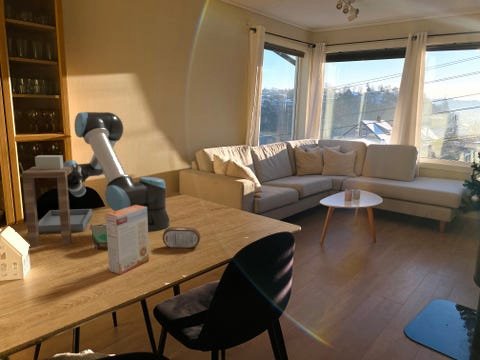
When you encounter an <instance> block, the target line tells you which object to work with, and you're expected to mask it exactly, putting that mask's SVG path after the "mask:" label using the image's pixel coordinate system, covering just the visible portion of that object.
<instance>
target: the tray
mask: <svg viewBox="0 0 480 360" xmlns="http://www.w3.org/2000/svg"><path fill="white" fill-rule="evenodd" d="M69 210H70V224H71V233H75V232H76V233H77V232H79V233H80V232H85V229H86V227H88V224H89V222H90V221H91V218H92V217H93V209H92V208H86V209H85V208H81V209H80V208H79V209H69ZM38 229H39V234H53V233H55V234H58V233H61V224H60V211H59V209H56V210H54V209H52V210H51V209H50V210H49V211H48V212H46V214H45V215H44V216H43V217H42V218H41V219H39V221H38Z"/></svg>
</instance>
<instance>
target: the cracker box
mask: <svg viewBox="0 0 480 360" xmlns="http://www.w3.org/2000/svg"><path fill="white" fill-rule="evenodd" d="M105 223H106V230H107V245H108V250H107V257H108V258H107V259H108V271H109V272H111V273H114V274H117V275H119V276H121V275H123V274H125V273H126V272H128V271H130V270H132V269H135V268H136V267H138V266H141V265H143V264H145V263H146V262H149V260H150V253H149V251H150V250H149V230H148V220H147V207H144V206H140V205H134V206H131V207H127V208H124V209H121V210H118V211H114V210H113V211H111V212H108V213H105Z"/></svg>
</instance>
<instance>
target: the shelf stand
mask: <svg viewBox="0 0 480 360" xmlns="http://www.w3.org/2000/svg"><path fill="white" fill-rule="evenodd" d="M72 171H73V166H63V168H62V169H36V166H32V167H30V168H28V169H26V170H24V171H22V172H21V179H22V187H23V196H24V197H23V199H24V206H25V207H24V208H25V218H26V219H25V220H26V229H27V230H26V231H27V236H28V237H27V238H28V239H27V240H28V245H29V244H30V246H31V247H30V248H36V247H37V248H38V247H39V245H40V244H41V242H40V233H39V229H38V222H39V221H38V220H39V219H38V218H39V217H38V211H37V210H38V209H37V208H38V207H37V200H36V199H37V197H36V188H35V187H36V186H35V179H40V178H41V179H44V178H45V179H48V178H57V182H56V184H57V196H58V197H57V198H58V210H59V211H60V224H61V232H60V235H61V236H60V237H61V245H62V246H70V245H72V242H73V241H72V238H73V237H72V232H71V224H70V210H71V209H70V198H69V189H68V182H67V175H68V174H70V173H71V172H72Z"/></svg>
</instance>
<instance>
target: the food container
mask: <svg viewBox="0 0 480 360" xmlns="http://www.w3.org/2000/svg"><path fill="white" fill-rule="evenodd" d="M89 230H90V231H91V234H92V240H93V246H94V248H95V249H96V250H99V251H108V245H107V230H106V222H105V223H102V224H97V225H93V223H90V225H89Z"/></svg>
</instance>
